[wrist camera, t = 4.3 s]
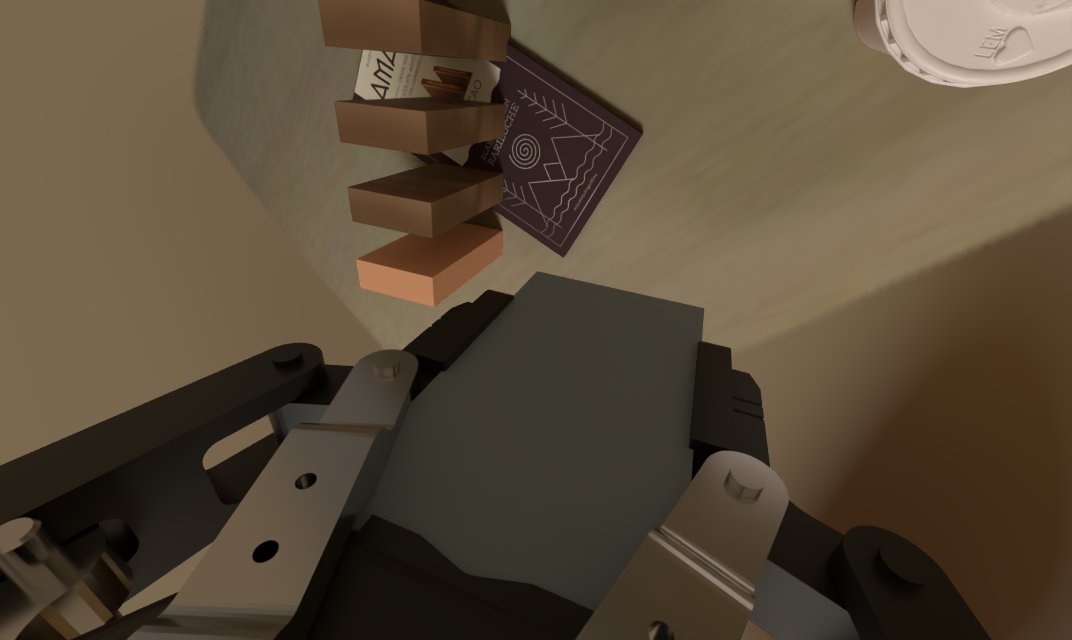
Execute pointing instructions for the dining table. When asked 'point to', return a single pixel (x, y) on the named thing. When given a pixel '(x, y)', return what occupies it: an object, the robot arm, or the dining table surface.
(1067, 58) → the smoothie
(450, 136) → the domino
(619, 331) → the domino
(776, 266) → the dining table surface
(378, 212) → the domino
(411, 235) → the domino end
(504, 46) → the domino
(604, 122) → the chocolate bar
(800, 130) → the dining table surface
